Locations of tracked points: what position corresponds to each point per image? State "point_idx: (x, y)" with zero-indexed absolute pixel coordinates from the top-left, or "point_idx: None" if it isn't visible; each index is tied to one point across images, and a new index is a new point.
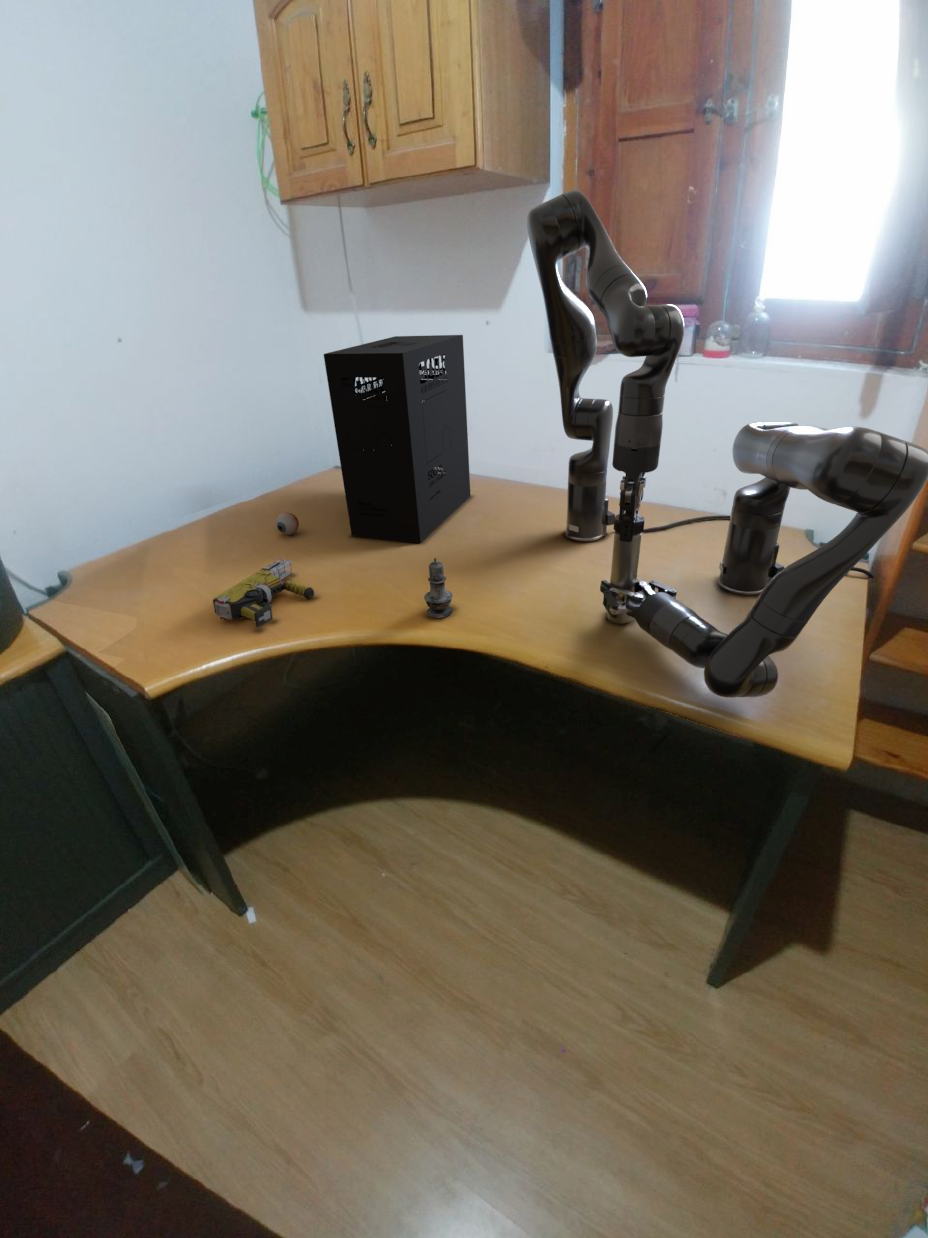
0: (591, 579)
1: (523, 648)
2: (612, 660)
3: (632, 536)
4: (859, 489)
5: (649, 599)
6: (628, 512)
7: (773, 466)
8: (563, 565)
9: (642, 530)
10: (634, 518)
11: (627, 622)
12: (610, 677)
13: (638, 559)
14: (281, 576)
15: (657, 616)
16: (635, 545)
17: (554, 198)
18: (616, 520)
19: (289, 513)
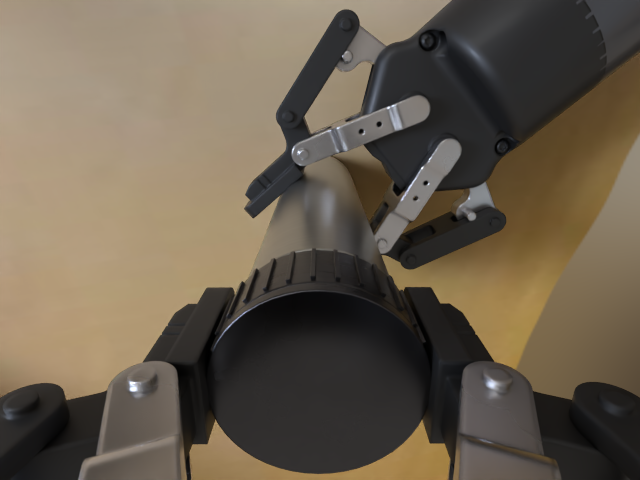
0: (124, 290)
1: (505, 361)
2: (534, 174)
3: (437, 299)
4: None
5: (536, 111)
6: (210, 411)
7: None
8: (74, 368)
9: (338, 254)
10: (632, 408)
11: (342, 163)
12: (608, 168)
13: (326, 201)
14: None
15: (614, 68)
16: (373, 249)
17: None
18: (377, 454)
19: None
